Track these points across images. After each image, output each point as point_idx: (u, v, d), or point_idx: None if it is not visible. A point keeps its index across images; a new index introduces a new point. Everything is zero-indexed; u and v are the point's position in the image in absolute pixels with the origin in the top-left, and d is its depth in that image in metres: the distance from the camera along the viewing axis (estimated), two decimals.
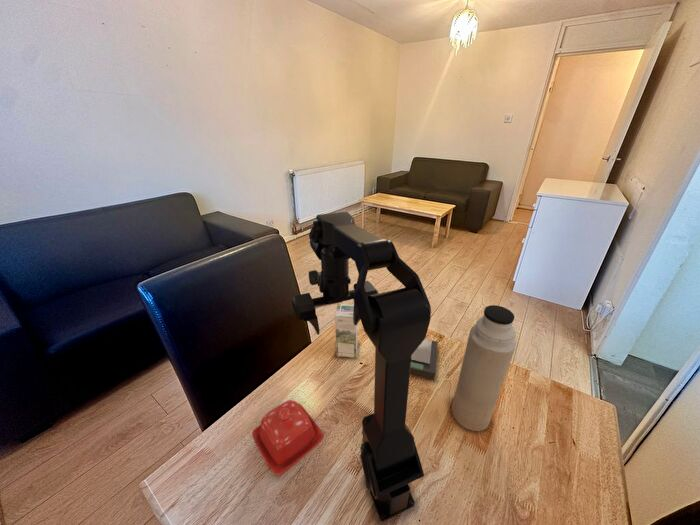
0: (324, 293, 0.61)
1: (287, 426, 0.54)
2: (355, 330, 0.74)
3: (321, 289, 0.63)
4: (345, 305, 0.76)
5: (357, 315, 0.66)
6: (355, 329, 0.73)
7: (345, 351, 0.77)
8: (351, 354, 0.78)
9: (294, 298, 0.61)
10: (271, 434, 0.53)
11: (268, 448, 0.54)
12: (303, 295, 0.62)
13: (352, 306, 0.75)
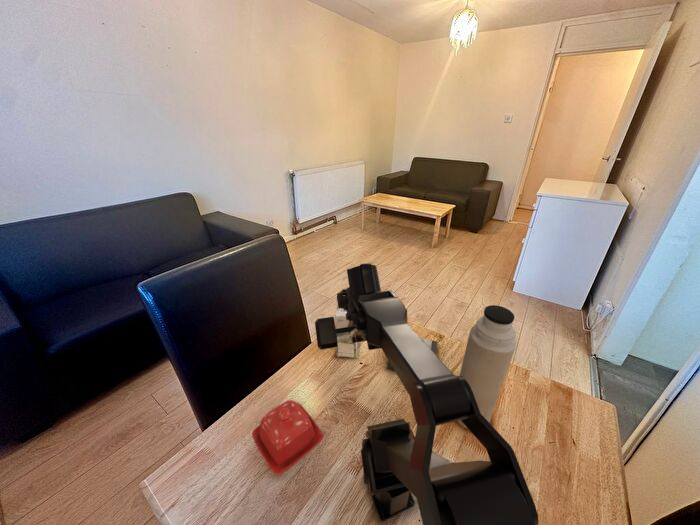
0: (350, 332, 0.57)
1: (287, 426, 0.54)
2: None
3: (347, 319, 0.58)
4: None
5: None
6: None
7: (345, 351, 0.77)
8: (351, 354, 0.78)
9: (318, 327, 0.58)
10: (271, 434, 0.53)
11: (268, 448, 0.54)
12: (328, 324, 0.58)
13: None
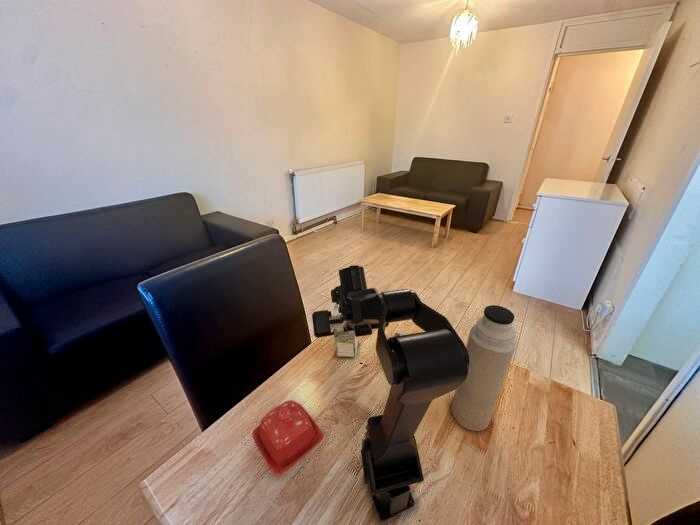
0: (341, 322, 0.67)
1: (287, 426, 0.54)
2: None
3: (340, 312, 0.69)
4: None
5: None
6: None
7: (344, 351, 0.77)
8: (351, 353, 0.78)
9: (314, 318, 0.68)
10: (271, 434, 0.53)
11: (268, 448, 0.54)
12: (323, 316, 0.68)
13: None
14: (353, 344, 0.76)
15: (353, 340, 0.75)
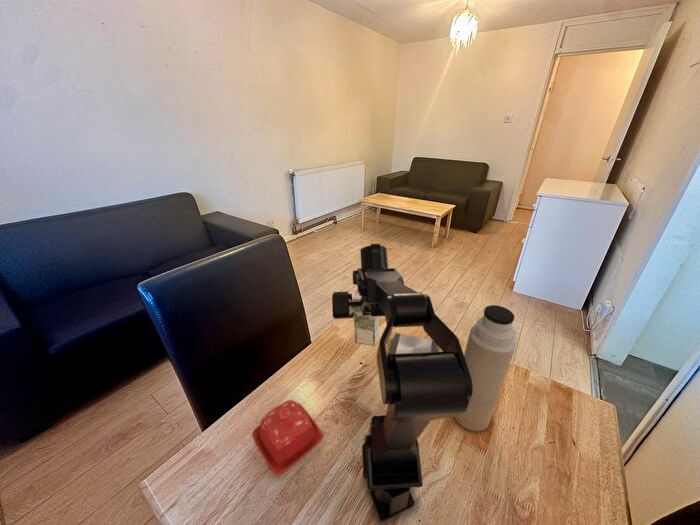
0: (360, 305, 0.65)
1: (287, 426, 0.54)
2: None
3: (360, 294, 0.67)
4: None
5: None
6: None
7: (363, 338, 0.75)
8: (370, 341, 0.75)
9: (334, 298, 0.67)
10: (271, 434, 0.53)
11: (268, 448, 0.54)
12: (342, 297, 0.67)
13: None
14: (373, 331, 0.73)
15: (373, 327, 0.73)
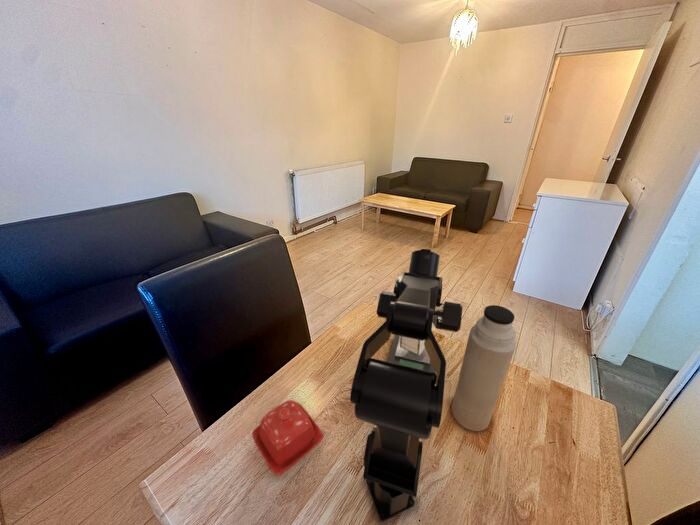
0: None
1: (287, 426, 0.54)
2: None
3: None
4: None
5: (433, 322, 0.69)
6: None
7: (408, 344, 0.73)
8: (414, 349, 0.72)
9: (380, 297, 0.67)
10: (271, 434, 0.53)
11: (268, 448, 0.54)
12: (389, 297, 0.67)
13: None
14: (418, 340, 0.70)
15: None
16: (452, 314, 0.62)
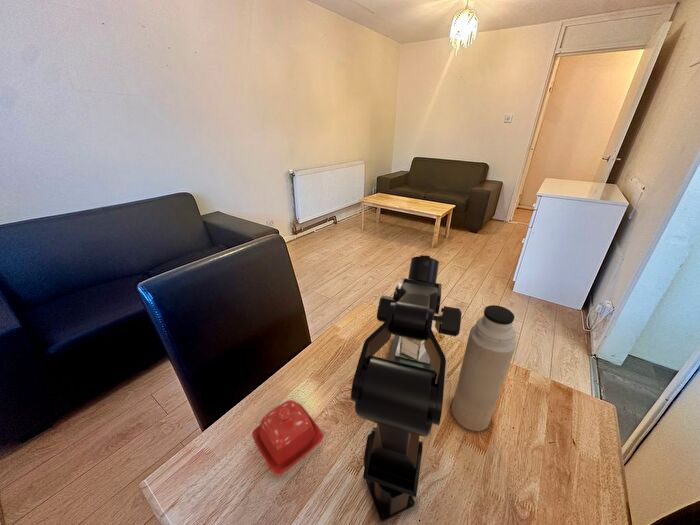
0: None
1: (287, 426, 0.54)
2: None
3: None
4: None
5: (436, 327, 0.69)
6: None
7: (408, 349, 0.74)
8: (414, 355, 0.73)
9: (380, 301, 0.68)
10: (271, 434, 0.53)
11: (268, 448, 0.54)
12: (389, 302, 0.67)
13: None
14: (418, 346, 0.71)
15: (419, 342, 0.70)
16: (451, 319, 0.63)
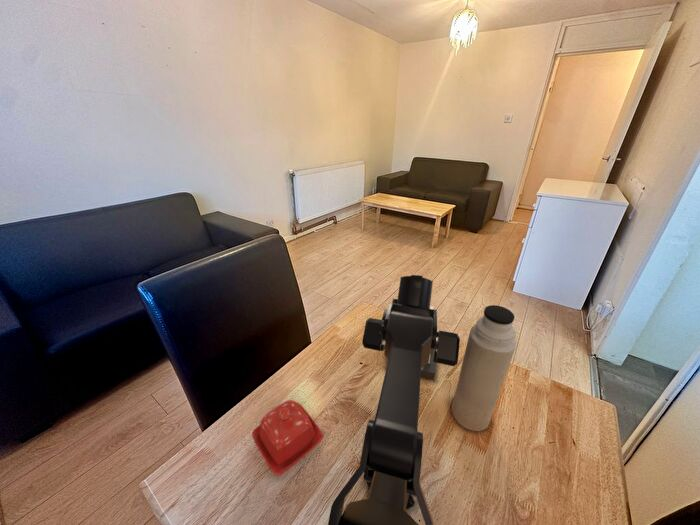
0: None
1: (287, 426, 0.54)
2: None
3: None
4: None
5: (431, 353, 0.60)
6: None
7: None
8: None
9: (367, 325, 0.59)
10: (271, 434, 0.53)
11: (268, 448, 0.54)
12: (376, 326, 0.58)
13: None
14: None
15: None
16: (448, 346, 0.54)
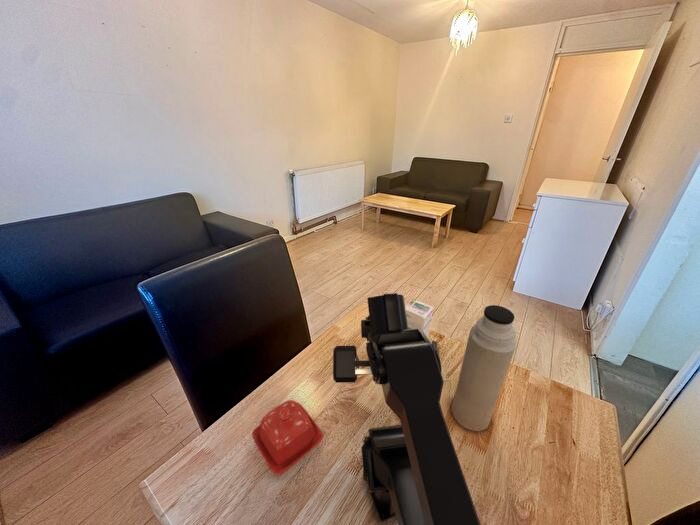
0: None
1: (287, 426, 0.54)
2: None
3: None
4: (420, 303, 0.72)
5: None
6: None
7: None
8: None
9: (335, 356, 0.50)
10: (271, 434, 0.53)
11: (268, 448, 0.54)
12: (346, 354, 0.50)
13: (426, 306, 0.70)
14: None
15: None
16: None
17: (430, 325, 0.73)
